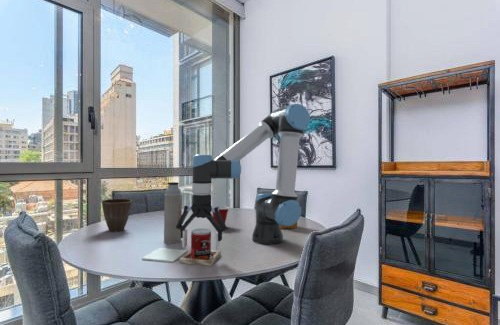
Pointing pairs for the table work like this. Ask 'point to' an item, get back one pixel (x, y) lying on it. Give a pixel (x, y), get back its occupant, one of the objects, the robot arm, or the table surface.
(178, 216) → the thermos bottle
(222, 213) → the plastic cup
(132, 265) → the table surface
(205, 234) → the canned food
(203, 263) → the square wooden frame
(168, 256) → the sage pad
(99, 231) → the table surface
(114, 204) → the plant pot
